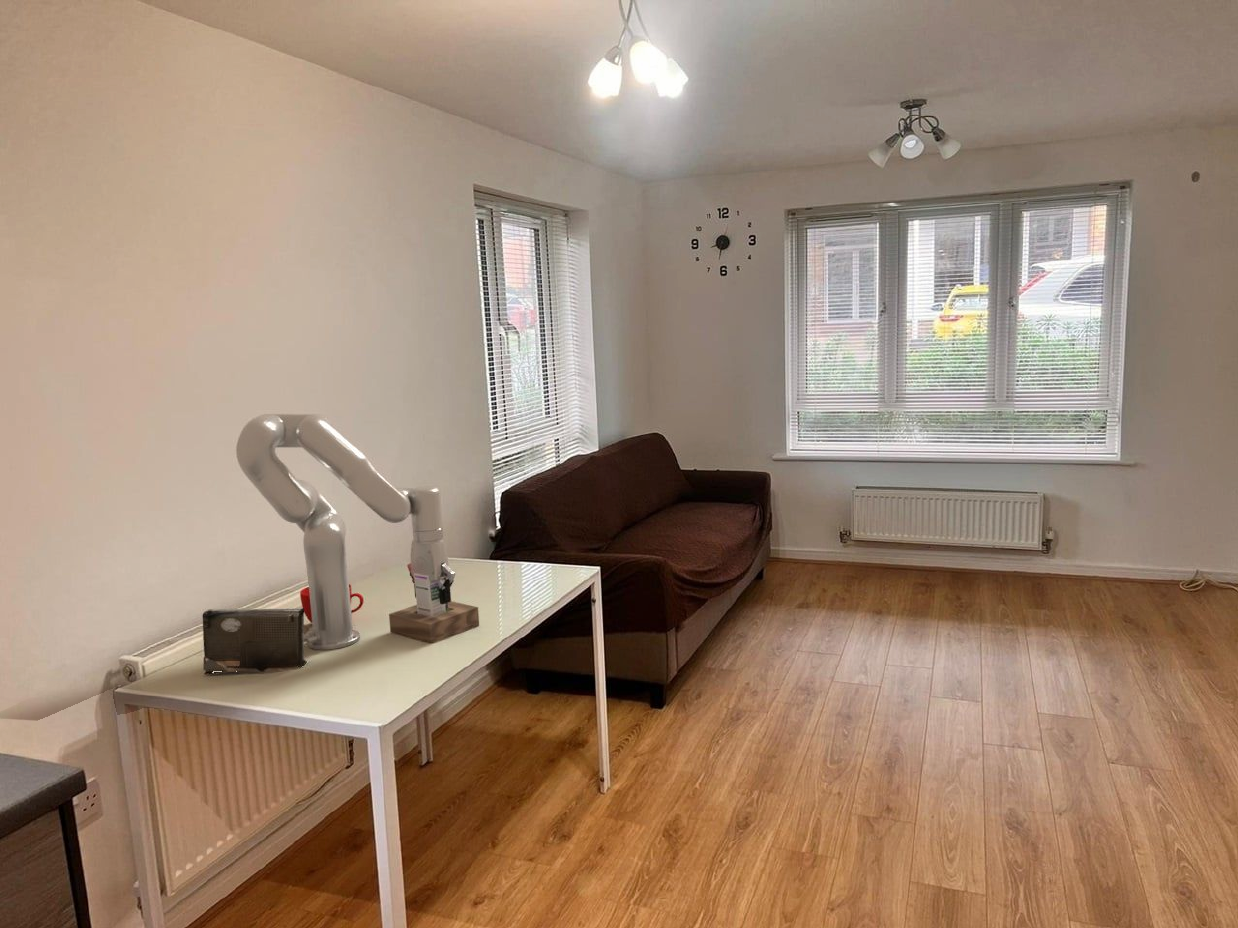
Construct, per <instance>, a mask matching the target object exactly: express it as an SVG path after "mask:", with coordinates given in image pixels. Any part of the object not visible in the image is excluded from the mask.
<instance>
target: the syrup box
mask: <svg viewBox="0 0 1238 928" xmlns="http://www.w3.org/2000/svg"><path fill="white" fill-rule="evenodd" d="M440 577H442V576H440ZM414 580H415V583H414V584H415V589H414V592H415V591H416V598H415V599H416V600H415V601H416V605H417V613H418V614H422V615H426V616H430V617H433V616H436V615H439V614H442V613H445V612H448V603H446V604H440V597H439V589H441V588H440V586H439V584H438V583H437V581H435V582H430V581H429V578H428V575H427V576H426V575H420V574H418V573H415V574H414ZM442 582H443V583H444V582H445V581H444V580H442Z"/></svg>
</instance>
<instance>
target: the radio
mask: <svg viewBox="0 0 1238 928" xmlns="http://www.w3.org/2000/svg"><path fill="white" fill-rule="evenodd" d="M304 611H305V610H304V609H303V607H302V608H251V609H249V608H248V609H247V608H243V609H240V608H223V609H221V608H220V609H216V608H210V609H207V610H205V611H204V612H203V613H202V635H203V637H202V638H203V652H204V656H203V664H202V665H203V666H202V667H203V671H204V672H205V673H204V675H228V674H229V675H230V674H231V675H232V674H233V675H234V674H235V675H236V674H237V675H238V674H264V673H265V674H267V673H269V674H271V673H278V672H280V671H286V670H298V668H299V669H302V668H303V667H302V666H304V665H305V664H306V663H307V661H308V660H309V659H305V658H304V654H305V653H304V651H305V650H304V647H305V646H304V644H305V642H303V641H304V637H303V635H304V634H305V633H304V631H305V628H304V627H305V623H304V622H305V618H304V617H305V613H304ZM307 664H308V663H307ZM307 664H306V665H307ZM306 665H305V666H306ZM305 666H304V667H305ZM301 667H302V668H301ZM213 671H222V672H214V674H213V673H212V672H213ZM236 671H237V672H236ZM216 673H217V674H216ZM218 673H219V674H218Z"/></svg>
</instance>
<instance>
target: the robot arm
mask: <svg viewBox="0 0 1238 928" xmlns="http://www.w3.org/2000/svg"><path fill="white" fill-rule="evenodd" d="M235 448H236V450H235V451H236V452H235V453H236V459H237V464H238V465H239V467H240V470H241V471H242V472H243V474H244V475H245V476H246V478H247V479H248V480H249V481H250V482H251V483H252V484H253V486H255V488H256V489H257V490H258V492H260V494H261V495H262V497H263V498H264V499H265V500H266V501H267V502H268V503H269V505H270V506H272V508H273V509H274V510H275V512H276V513H277V514H278V515H279V517H281V518H282V519H283V520H284V521H286V522H288V523H291V524H296V525H297V527H298V528H299V529H300V530H301V531H302V532H303V533H304V535H303V540H302V541H303V545H302V546H303V550H304V551H303V552H304V558H305V559H304V560H305V565H306V567H305V568H306V572H307V573H306V574H307V583H308V587H309V594H310V605H311V615H312V623H311V624H312V626H310V627H308V631H307V632H306V633H303V637H304V641H303V642H304V643H305V642H306V644H307V646H308V647H309V648H311V649H313V650H321V651H322V650H326V651H328V650H335V649H340V648H345V647H347V646H350V645H353V644H355V643H357V642H358V641H359V640H360V638H361V634H360V632H359V631H358V630H356V629H354V626H353V617H352V616H353V615H352V614H353V613H351V610H352V601H351V602H350V591H349V584H350V583H349V571H348V570H349V569H348V562H347V561H348V560H347V551H346V535H347V534H346V531H347V529H346V524H345V521H344V519H343V518H342V517H341V516H340V514H339V513H338V512H337V511H336V509H334V507H333V506H332V505H331V504H330V503H329V502H328V501H327V499H326V498H325V497H324V496H323V495H322V494H321V493H320V491H319V490H318V489H317V488H316V487H315V486H314V485H313V484H311V483H310V482H308V481H306V480H304V479H298V478H297V477H296V476H295V475H294V474H293V473H292V471H291V470H290V469H289V468H288V466H287V465H286V464H285V463H284V462H283V461H281V460H280V458H279V457H278V456H277V453H276V448H302V449H303V450H304V451H306V452H307V454H309V455H311V457H313V458H314V459H315V460H316V461H317V462H318V463H320V464H321V466H323V467H324V468H326V469H327V470H328V471H329V472H330V473H331V474H333V475H334V476H335V477H336V478H337V479H338V480H339V481H340V482H341V483H342V484H343V485H344V486H345V487H347V488H348V489H349V490H350V491H351V492H352V493H353V494H354V495H355V496H356V497H357V498H358V499H359V500H360V501H362V502H363V503H364V504H365V505H366V506H367V507H369V508H370V510H372V511H374V513H376V515H378V516H379V517H380V518H381V519H383V520H384V521H386V522H388V523H391V524H398V523H401V522H404V521H405V520H406V519H407V518H408V517H409V515H411V524H412V525H411V526H412V527H411V528H412V538H413V539H412V540H411V543H410V544H411V545H410V563H408V564H407V569H408V572H409V576H410V577H411V579H412V580H411V581H412V582H411V583H413V587H414V588H413V589H414V598H415V599H416V591H415V580H414V574H415V573H418V574H420V575H426V576H427V575H428V578H429V581H430V582H435V581H437V583H438V584H439V586H440V588H441V589H439V597H440V604H446V603H448V602H451V601H452V595H451V594H452V593H451V588H452V587H453V583H454V579H455V576H456V572H455V571H454V570H452V568H450V566H449V557H448V552H447V546H446V543H445V540H444V528H443V527H444V525H443V515H442V514H443V513H442V501H441V492H440V489H439V487H436V486H430V485H429V486H418V487H415V488H414V487H411V488H410V487H408V488H407V487H394V486H393V485H391V483H389V482H388V481H387V480H386V479H385V478H384V477H383V476H382V475H381V474H380V473H379V472H378V471H377V470H376V469H375V467H374V466H373V465H372V463H371V462H370V460H369V459H368V457H367V456H366V455H365V453H363V452H362V451H361V450H360V449H358V448H357V447H356V446H355V445H354V444H353V443H352V442H350V441H349V440H348V439H347V438H346V437H345V436H344V435H342V434H341V433H340V432H339V431H338V430H337V429H335V427H334V426H333V424H332V423H331V421H330V420H329V419H328V418H327V417H325V416H323V415H321V414H315V413H314V414H313V413H312V414H310V413H309V414H306V413H305V414H300V413H299V414H293V413H291V414H290V413H289V414H288V413H287V414H286V413H285V414H284V413H264V414H260V415H258V416H256V417H253V418H252V419H251V420H249V421H248V422H247V423H246V424H245V425H244V427H243V428H242V430H241V432H240V434H239V436H238V438H237V442H236V447H235ZM440 576H442V577H440ZM442 580H444V581H445V582H444V583H443V582H442Z"/></svg>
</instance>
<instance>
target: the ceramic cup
mask: <svg viewBox="0 0 1238 928" xmlns="http://www.w3.org/2000/svg"><path fill="white" fill-rule="evenodd" d="M349 591H350V602H351V603H352V598H353V597H357V598H358V599H359V604H358V605H357V607H356V608H353V609H351V614H353V613H355V612H358V611H359V610H360V609H361V608H362V606H363V604H364V597H363V596H362V594H360V593H357V592H354V593H352V584H351V583H349ZM299 594H300V595H299V597H300V602H301V607H302V608H303V609H304V610H305V611H304V616H305V617H306V619H307V620H308V621H309V623H311V624H312V615H311V605H310V594H309V586H306V587H304V588H302V589H301V590H300V593H299Z"/></svg>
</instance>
